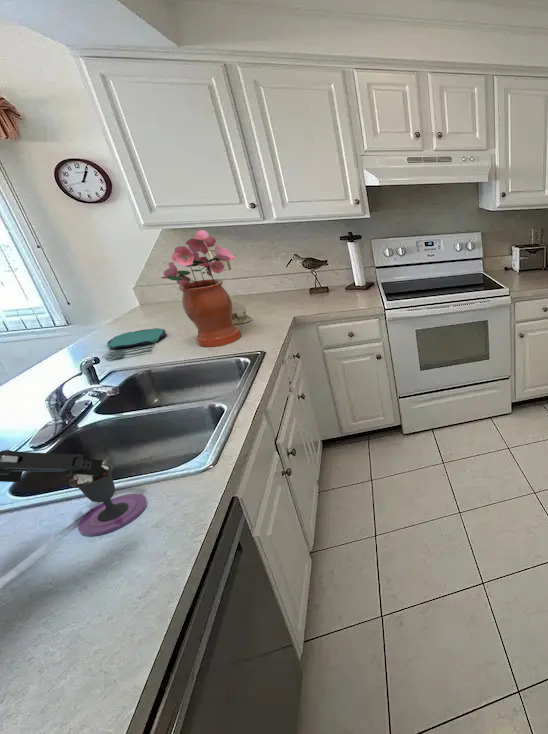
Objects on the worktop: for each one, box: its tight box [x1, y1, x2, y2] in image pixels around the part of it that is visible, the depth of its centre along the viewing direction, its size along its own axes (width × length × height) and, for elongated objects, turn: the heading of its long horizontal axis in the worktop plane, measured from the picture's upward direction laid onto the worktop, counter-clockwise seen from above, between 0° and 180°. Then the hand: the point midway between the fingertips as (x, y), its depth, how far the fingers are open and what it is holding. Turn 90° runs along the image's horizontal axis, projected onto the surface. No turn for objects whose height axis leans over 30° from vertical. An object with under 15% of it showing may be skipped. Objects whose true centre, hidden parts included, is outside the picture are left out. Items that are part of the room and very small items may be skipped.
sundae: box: [67, 464, 128, 521], centre depth 83 cm, size 7×7×15 cm
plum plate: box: [77, 493, 148, 537], centre depth 87 cm, size 11×11×1 cm
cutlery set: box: [104, 327, 166, 361], centre depth 173 cm, size 20×30×2 cm, turn 28°
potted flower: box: [160, 229, 242, 348], centre depth 166 cm, size 19×25×45 cm
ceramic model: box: [232, 301, 253, 325], centre depth 194 cm, size 14×11×10 cm
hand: (60, 471), depth 76 cm, fingers open, 13 cm apart
